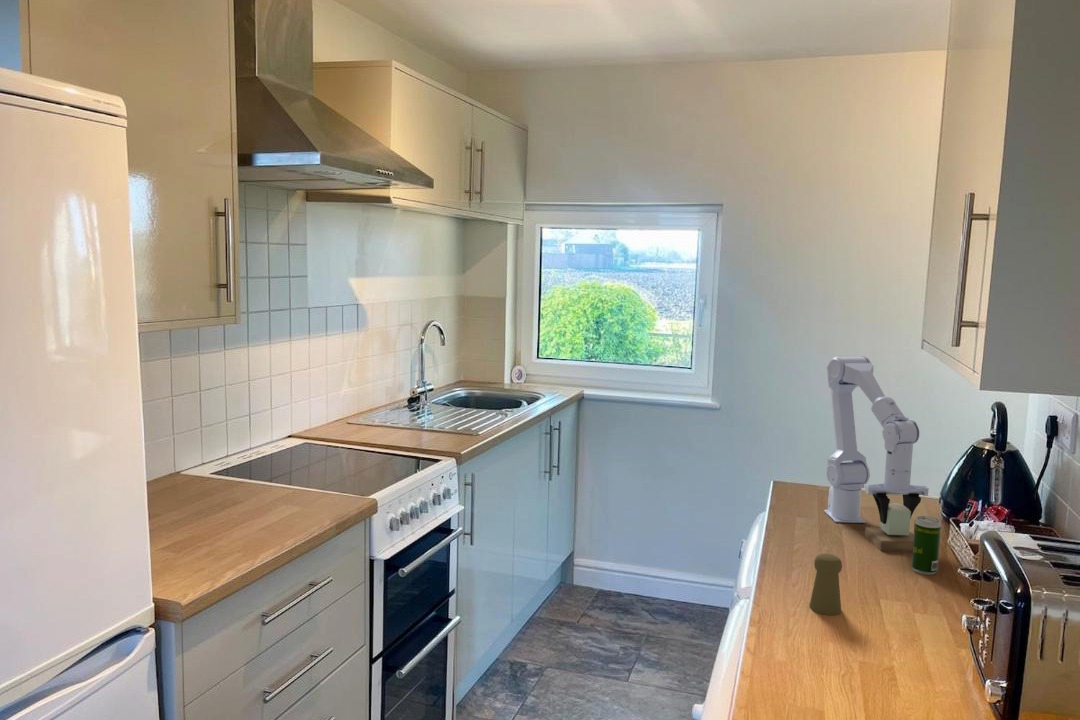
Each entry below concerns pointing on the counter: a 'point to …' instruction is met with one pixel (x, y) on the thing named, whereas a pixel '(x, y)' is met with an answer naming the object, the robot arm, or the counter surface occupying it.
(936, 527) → the beer can
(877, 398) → the robot arm
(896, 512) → the tea tin
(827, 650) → the counter surface
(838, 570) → the olive pepper mill
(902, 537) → the walnut block
